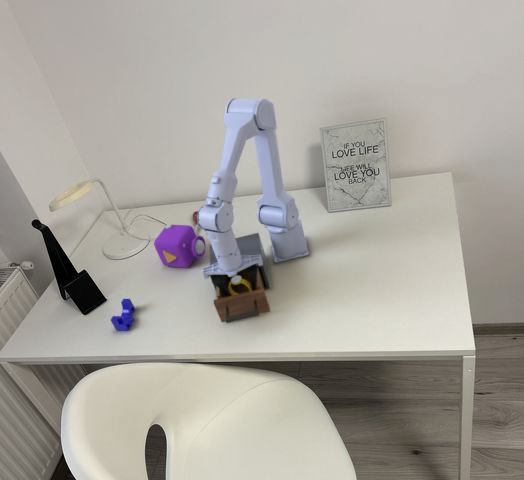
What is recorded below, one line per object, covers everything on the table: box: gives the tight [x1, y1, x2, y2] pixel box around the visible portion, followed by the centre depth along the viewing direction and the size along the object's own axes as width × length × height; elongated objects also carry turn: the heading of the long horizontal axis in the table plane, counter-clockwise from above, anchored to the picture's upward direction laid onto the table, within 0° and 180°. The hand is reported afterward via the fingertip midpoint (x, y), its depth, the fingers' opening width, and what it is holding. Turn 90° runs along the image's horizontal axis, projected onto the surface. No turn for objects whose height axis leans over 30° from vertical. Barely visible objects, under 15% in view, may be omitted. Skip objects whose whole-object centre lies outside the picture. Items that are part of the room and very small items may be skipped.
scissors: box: [192, 210, 199, 234], centre depth 171 cm, size 5×14×1 cm, turn 172°
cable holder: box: [110, 298, 136, 332], centre depth 145 cm, size 8×4×4 cm, turn 164°
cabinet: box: [209, 232, 271, 294], centre depth 145 cm, size 14×14×9 cm
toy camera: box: [153, 223, 207, 268], centre depth 157 cm, size 11×14×10 cm
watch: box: [228, 276, 252, 295], centre depth 136 cm, size 6×3×6 cm, turn 76°
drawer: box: [213, 267, 271, 324], centre depth 135 cm, size 17×12×7 cm
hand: (241, 291), depth 137 cm, fingers closed on watch, 6 cm apart
